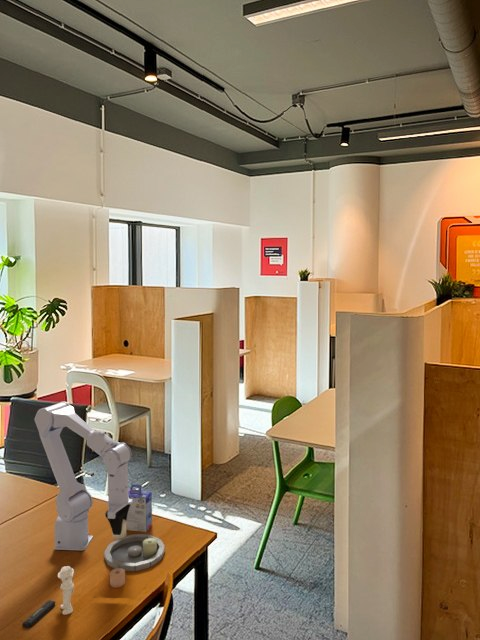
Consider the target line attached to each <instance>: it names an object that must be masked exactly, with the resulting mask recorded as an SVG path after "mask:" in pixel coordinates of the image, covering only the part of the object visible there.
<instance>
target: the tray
mask: <svg viewBox="0 0 480 640" xmlns="http://www.w3.org/2000/svg"><path fill="white" fill-rule="evenodd" d="M148 538H153V539H156V541H157V554H156V555H154V556H153V557H151V558H145V557H144V556H143V541H144V540H145V539H148ZM165 552H166V545H165V544H164V542H163V541H162V539H161V538H159V537H157V536H154V535H151V534H145V533H143V534H142V533H134V534H129V535H126V536H125V537H123V538H119V539H117V538H116V539H115V540H113V541H112V542H110V543H109V544H108V545H107V547H106V549H105V550H104V552H103V554H104V557H103V558H104V560H105V562H106V564H107V566H108V567H111V568H112V569H116V568H122V569H124V570H125V572H136V571H141V570H142V571H143V570H145V569H149V568H151V567H154V566H155V565H156V564H158V562H160V561H162V559H163V557H164V555H165Z"/></svg>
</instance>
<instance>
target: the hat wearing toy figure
mask: <svg viewBox="0 0 480 640" xmlns="http://www.w3.org/2000/svg"><path fill="white" fill-rule="evenodd" d="M74 573H75V570H74V568H73V567H71V566H70V565H67V566H65V565H64V566H61V569H60V571H59V572H58V573H57V577H58V579H60V580H61V584H60V590H62V603H63V604H60V606H59V607H60V609H61V610H62V612H61V613H62V615H65V616H66V615H69V614H72V613H73V611H74V610H73V606H72V605H71V600H72V599H71V597H72V594H74V588H75V583H74V582H73V578H74Z"/></svg>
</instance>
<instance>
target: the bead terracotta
mask: <svg viewBox="0 0 480 640" xmlns="http://www.w3.org/2000/svg"><path fill="white" fill-rule="evenodd" d="M125 584H126V571H125V570H124V569H122V568H116V569H114V568H112V570H111V571H110V572H109V585H110V587H112V588H116V589H117V588H121V587H123V586H124V585H125Z"/></svg>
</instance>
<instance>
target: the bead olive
mask: <svg viewBox="0 0 480 640" xmlns="http://www.w3.org/2000/svg"><path fill="white" fill-rule="evenodd" d="M156 554H157V541H156V539H153V538H148V539H145V540H144V541H143V556H144V557H145V558H151V557H153V556H154V555H156Z"/></svg>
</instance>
